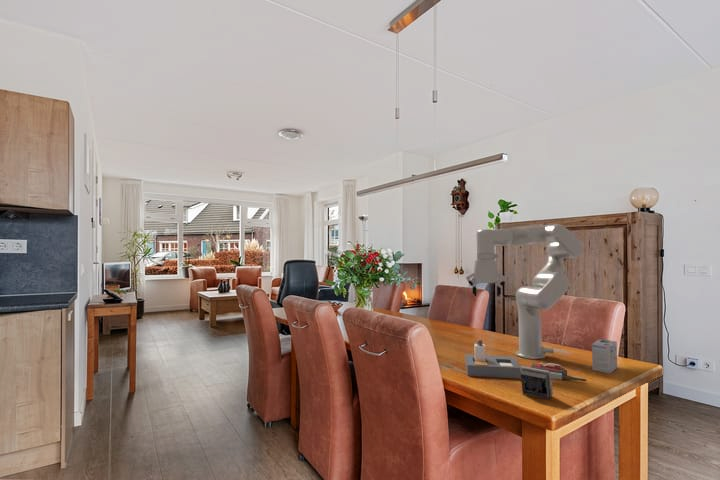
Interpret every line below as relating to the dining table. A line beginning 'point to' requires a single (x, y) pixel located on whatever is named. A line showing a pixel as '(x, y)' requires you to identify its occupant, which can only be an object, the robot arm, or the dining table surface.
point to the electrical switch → (536, 382)
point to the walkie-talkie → (556, 371)
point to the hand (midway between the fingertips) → (486, 296)
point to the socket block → (493, 366)
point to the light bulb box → (604, 355)
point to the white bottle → (480, 351)
